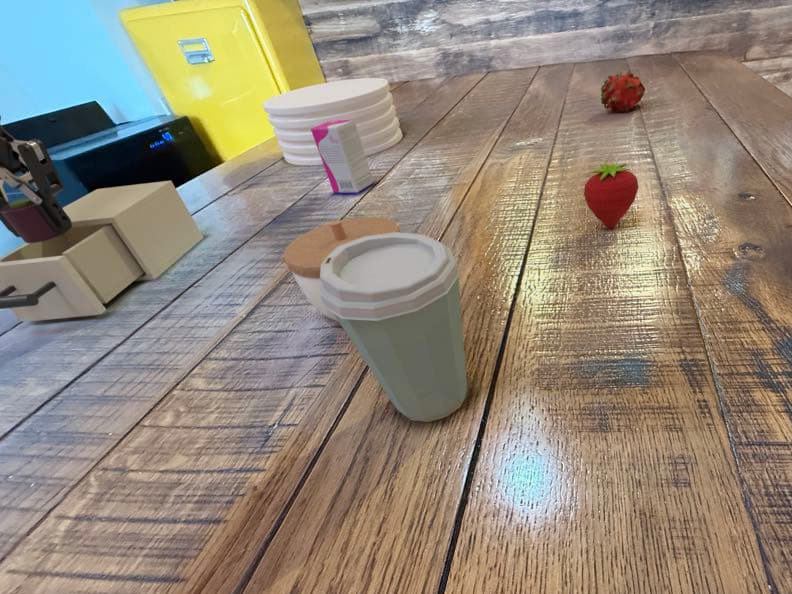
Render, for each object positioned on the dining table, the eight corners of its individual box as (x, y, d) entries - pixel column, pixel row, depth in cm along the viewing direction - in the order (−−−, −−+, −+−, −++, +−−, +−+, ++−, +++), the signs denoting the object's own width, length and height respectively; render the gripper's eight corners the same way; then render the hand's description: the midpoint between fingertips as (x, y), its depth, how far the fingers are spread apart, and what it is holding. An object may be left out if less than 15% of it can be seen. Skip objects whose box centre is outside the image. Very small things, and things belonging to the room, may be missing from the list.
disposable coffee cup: (492, 362, 51) (460, 216, 41) (486, 439, 43) (445, 280, 33) (389, 373, 52) (334, 231, 42) (364, 450, 44) (289, 298, 34)
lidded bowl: (311, 304, 65) (272, 219, 58) (407, 275, 68) (381, 191, 61) (322, 354, 56) (277, 261, 49) (432, 319, 59) (405, 226, 52)
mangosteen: (15, 245, 65) (-14, 210, 62) (44, 228, 69) (18, 195, 66) (51, 241, 65) (24, 206, 62) (78, 225, 68) (53, 191, 65)
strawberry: (645, 229, 71) (647, 152, 64) (594, 241, 69) (591, 164, 63) (627, 215, 75) (628, 141, 68) (579, 226, 74) (575, 152, 67)
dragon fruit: (596, 123, 119) (639, 120, 124) (614, 103, 112) (659, 101, 116) (588, 86, 119) (631, 85, 123) (606, 63, 111) (651, 62, 115)
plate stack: (300, 175, 109) (276, 115, 101) (274, 150, 127) (252, 98, 119) (420, 141, 118) (406, 84, 111) (379, 123, 137) (365, 73, 129)
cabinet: (155, 280, 76) (112, 217, 69) (77, 288, 77) (28, 226, 70) (204, 238, 87) (171, 180, 80) (135, 246, 88) (97, 189, 81)
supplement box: (376, 184, 98) (355, 118, 91) (358, 196, 94) (335, 127, 87) (351, 184, 100) (329, 119, 93) (333, 195, 96) (308, 128, 89)
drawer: (76, 334, 64) (28, 278, 58) (-7, 342, 65) (-62, 287, 59) (158, 266, 77) (125, 216, 72) (89, 273, 78) (51, 224, 73)
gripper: (14, 66, 57) (114, 215, 69) (-100, 82, 58) (17, 226, 70) (-43, 79, 52) (76, 239, 63) (-168, 96, 53) (-29, 250, 64)
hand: (45, 231), depth 66 cm, fingers closed on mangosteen, 5 cm apart
